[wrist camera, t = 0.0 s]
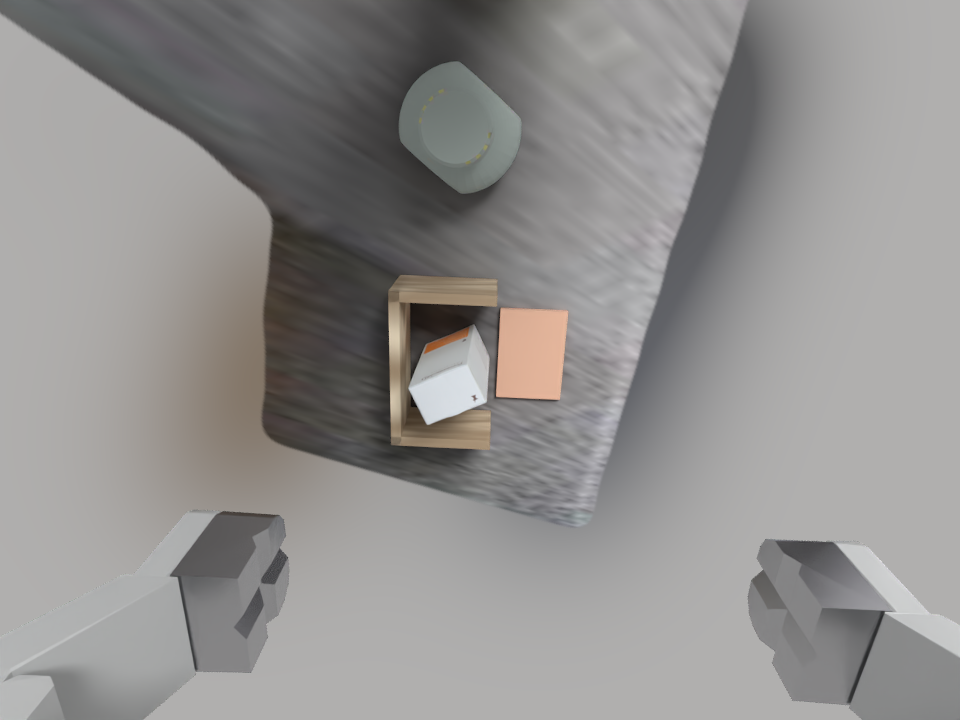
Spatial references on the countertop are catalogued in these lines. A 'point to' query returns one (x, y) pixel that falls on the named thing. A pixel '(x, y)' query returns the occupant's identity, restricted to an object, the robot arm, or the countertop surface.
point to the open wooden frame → (407, 420)
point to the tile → (531, 353)
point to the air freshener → (459, 128)
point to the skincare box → (451, 375)
